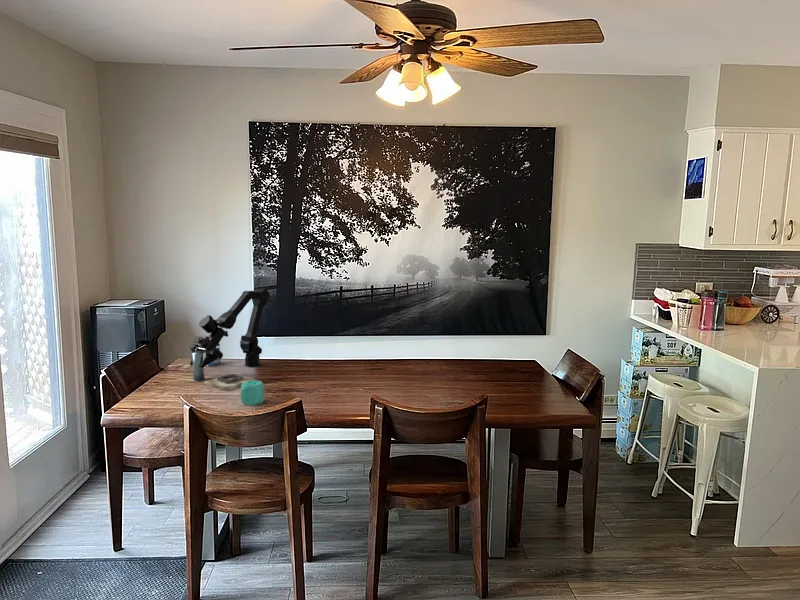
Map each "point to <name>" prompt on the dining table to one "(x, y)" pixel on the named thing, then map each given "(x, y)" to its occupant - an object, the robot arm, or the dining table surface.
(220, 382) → the collar base
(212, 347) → the robot arm
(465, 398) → the dining table surface
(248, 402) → the decorative dice
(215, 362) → the medicine box
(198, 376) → the shiny steel cylinder
